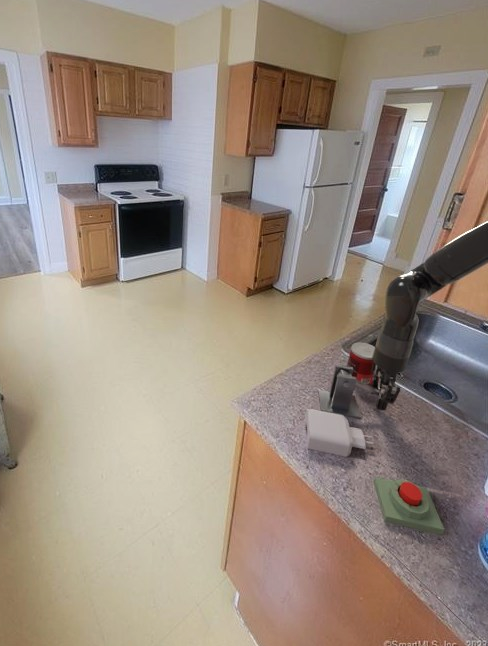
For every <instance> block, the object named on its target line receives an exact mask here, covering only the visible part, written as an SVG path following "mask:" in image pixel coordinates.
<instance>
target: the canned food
mask: <svg viewBox="0 0 488 646" xmlns="http://www.w3.org/2000/svg"><path fill="white" fill-rule="evenodd" d="M374 349H375V345H372V344H371V343H366V342H355V343H353V344H351V347H350V350H349V355H348V360H347V364H346V366H348V367H353V373H352V377H356V379H357V380H358V381H360V382H362V383H364V384H366V385H369V386H371V385H372V383H373V381H372V377H373V375H371V369H372V363H373V359H372V357H373V353H374Z"/></svg>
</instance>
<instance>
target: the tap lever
mask: <svg viewBox="0 0 488 646" xmlns="http://www.w3.org/2000/svg"><path fill="white" fill-rule="evenodd" d="M338 374H340V375H346V376H352V375H351V373H348V372H346V371H344V370H342V369H341V370H340V372H339V373H338ZM338 374H337V377H338ZM371 386H372V385H366V384H364V383H362V382H360V381H358V380H356V384H355V387H358V388H360V389H363V390H365V391H367V392H369V393H370V394H371V393H374V394H373V395H375V394H376V395H375V396H377V398H378V397H379V390H380V389H379V388H378V385H376V386H375V388H373V387H371Z"/></svg>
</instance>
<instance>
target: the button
mask: <svg viewBox="0 0 488 646" xmlns="http://www.w3.org/2000/svg"><path fill="white" fill-rule="evenodd" d="M410 482H411V481H410ZM410 482H403V483H402V484H401V487H400V489H399V495H400V497H401V498H402V500H403V501H404V502H406V503H407V504H409V505H411V506H418V505H419V504H420V501H421V499H422V493H421V491H420V490H419V488H418V487H417V486H418V485H416V484H415V485H416V486H415V485H414V483H413V482H411V483H410ZM412 483H413V484H412Z"/></svg>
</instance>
